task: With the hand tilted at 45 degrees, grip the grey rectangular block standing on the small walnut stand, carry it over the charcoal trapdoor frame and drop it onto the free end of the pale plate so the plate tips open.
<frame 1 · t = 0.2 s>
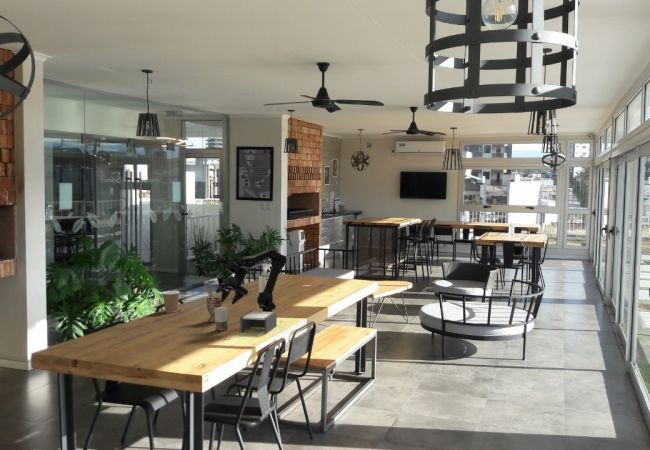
hand: (226, 303, 341), 14 cm above the table, tool tilted 35°, fingers open, 9 cm apart
trapdoor: (258, 317, 340), point 6 cm above the table, hinge at 0.0°
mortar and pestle: (212, 321, 361), on the table
coffee cup: (171, 311, 387), on the table
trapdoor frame: (257, 330, 338), on the table
grey rectangular block: (221, 320, 338), point 5 cm above the table, touching stone stand
stone stand: (221, 329, 339), on the table
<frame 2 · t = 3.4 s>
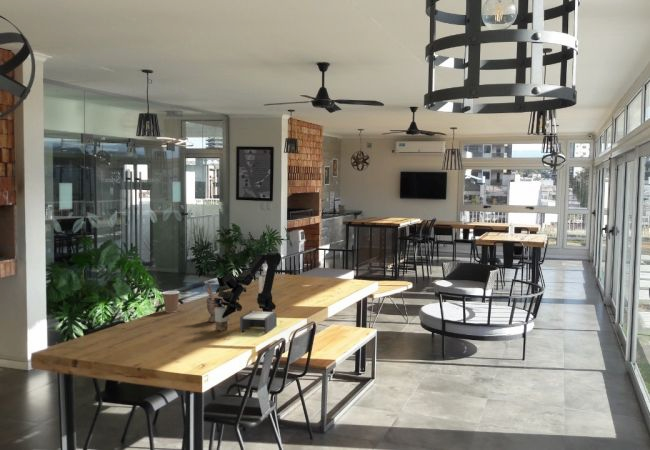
hand: (219, 316, 337), 7 cm above the table, tool tilted 45°, fingers closed on grey rectangular block, 5 cm apart
grey rectangular block: (221, 320, 338), point 5 cm above the table, touching gripper, stone stand
everything else where it was.
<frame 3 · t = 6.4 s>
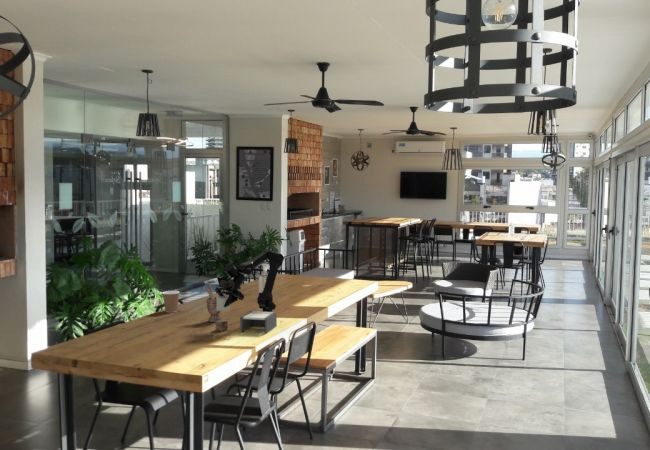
hand: (221, 306, 336), 13 cm above the table, tool tilted 45°, fingers closed on grey rectangular block, 5 cm apart
grey rectangular block: (223, 310, 337), point 11 cm above the table, touching gripper
everything else where it was.
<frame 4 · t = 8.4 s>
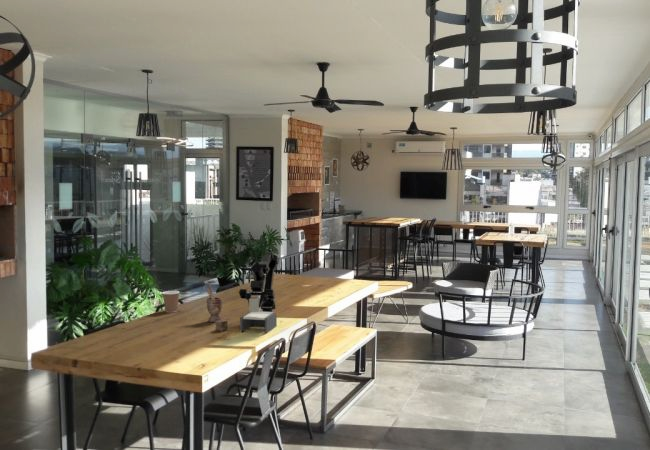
hand: (254, 307, 333), 13 cm above the table, tool tilted 45°, fingers closed on grey rectangular block, 5 cm apart
grey rectangular block: (255, 311, 334), point 11 cm above the table, touching gripper
everything else where it was.
when the fingers open (12 cm above the table, at t = 9.1 s): grey rectangular block drops 5 cm, resting on trapdoor.
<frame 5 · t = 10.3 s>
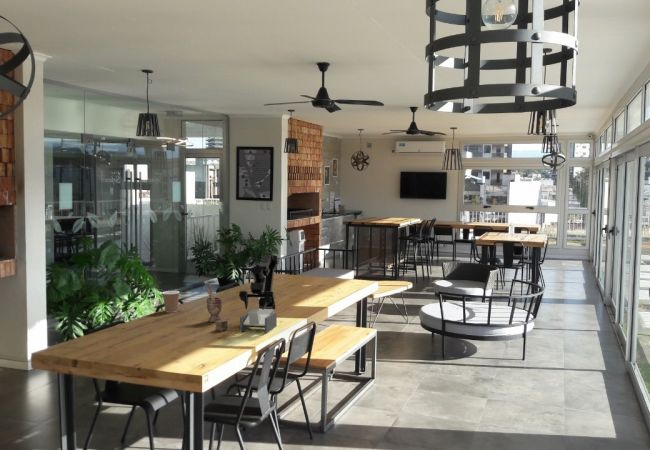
hand: (254, 309, 333), 12 cm above the table, tool tilted 45°, fingers open, 9 cm apart
trapdoor: (258, 318, 340), point 6 cm above the table, hinge at -20.8°, touching grey rectangular block
grey rectangular block: (255, 321, 335), point 5 cm above the table, tilted 21°, touching trapdoor
everything else where it was.
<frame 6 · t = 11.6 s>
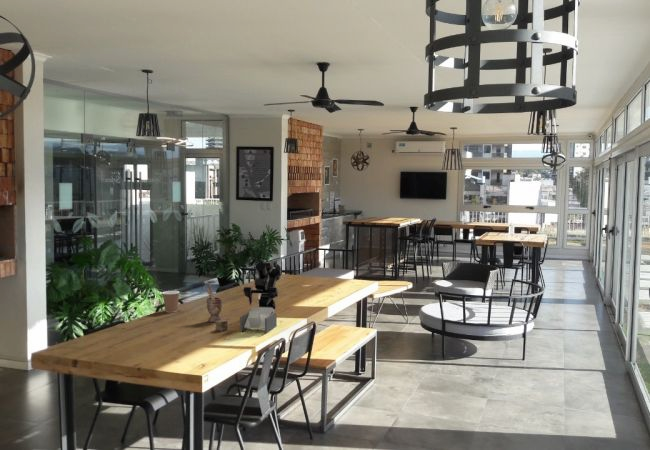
hand: (258, 304, 341), 13 cm above the table, tool tilted 45°, fingers open, 9 cm apart
trapdoor: (259, 318, 341), point 5 cm above the table, hinge at -32.7°, touching grey rectangular block
grey rectangular block: (255, 323, 336), point 4 cm above the table, tilted 33°, touching trapdoor
everything else where it was.
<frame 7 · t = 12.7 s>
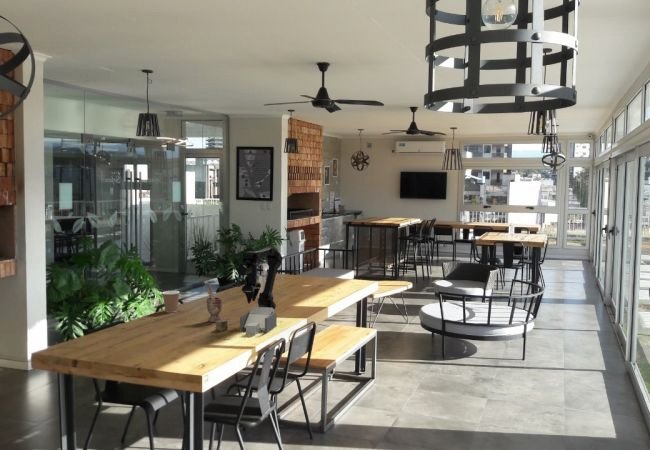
hand: (251, 302, 347), 13 cm above the table, tool pointing down, fingers open, 9 cm apart
trapdoor: (259, 318, 341), point 5 cm above the table, hinge at -33.9°
grey rectangular block: (255, 327, 334), point 2 cm above the table, tilted 90°
everything else where it was.
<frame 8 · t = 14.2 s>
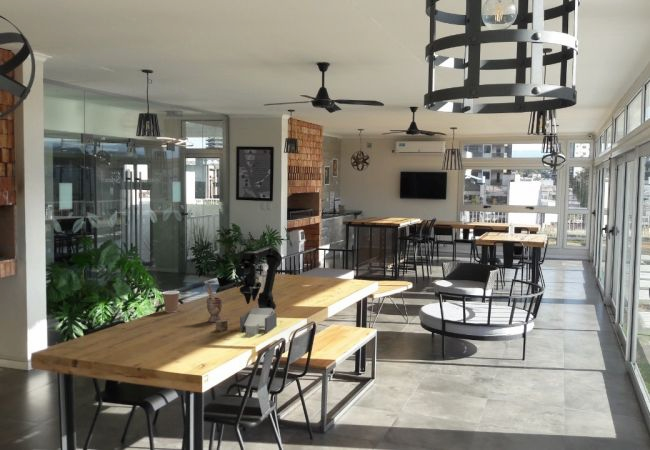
hand: (250, 302, 348), 13 cm above the table, tool pointing down, fingers open, 9 cm apart
trapdoor: (259, 318, 340), point 6 cm above the table, hinge at -26.9°
everything else where it was.
at the end: grey rectangular block inside the target area on the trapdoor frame (0.9 cm from its centre), point 2.3 cm above the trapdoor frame's base; grey rectangular block point 2.3 cm above the table; the gripper is holding nothing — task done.
